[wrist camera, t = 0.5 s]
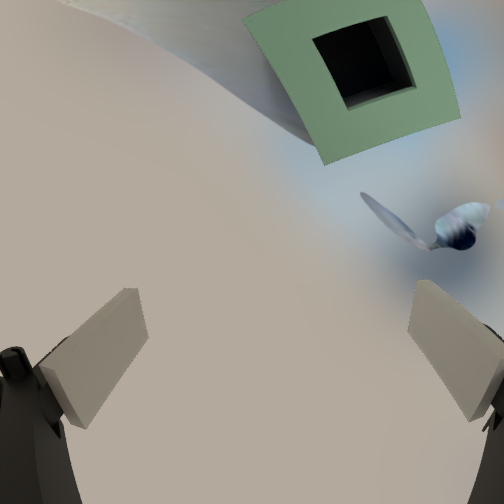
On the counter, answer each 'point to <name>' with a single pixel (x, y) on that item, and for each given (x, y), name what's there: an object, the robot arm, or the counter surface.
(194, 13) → the counter surface
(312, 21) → the slot box
